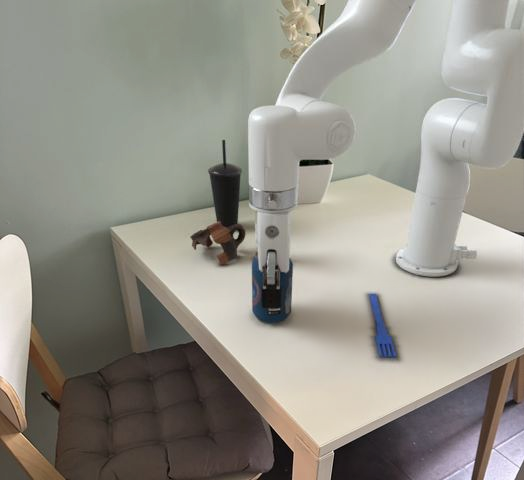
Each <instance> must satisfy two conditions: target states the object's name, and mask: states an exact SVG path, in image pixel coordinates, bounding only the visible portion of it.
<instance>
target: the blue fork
mask: <svg viewBox="0 0 524 480" xmlns="http://www.w3.org/2000/svg"><path fill="white" fill-rule="evenodd" d="M368 296H369V299H370V304H371V308H372V309H371V310H372V313H373V317H374V321H375V325H376V326H375V330H376V334H377V335H374V338H375V342H376V346H377V351H378V356H379V358H383V356H384V358H387V357H388V358H392V356H393V358H394V359H395V358H397V354H396V349H395V346H394V342H393V338H392V335H388V330H387V327H386V326H385V324H384V319H383V316H382V313H381V308H380V305H379V301H378V296H377V293H369V295H368ZM382 353H383V354H382ZM387 354H388V355H387Z"/></svg>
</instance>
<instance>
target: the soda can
mask: <svg viewBox="0 0 524 480" xmlns="http://www.w3.org/2000/svg"><path fill="white" fill-rule="evenodd" d="M266 269H267V266H266ZM275 269H278V266H275ZM293 273H294V263H293V261H292V259H291V258H290V260H289V271H288V272H287V273H285V272H281V270H280V286H281V307H280V308H279V309H275V308H262V286H263V272H261V271H260V270H259V261H258V251H257V252H256V251H255V254H254V258H253V260H252V262H251V311H252V314H253V315H254V316H255V318H256V320H257V321H259V322H261V323H262V324H266V325H278V324H281V323H283V322H285V321H286V320H287V318H288V317H289V316H290V314H291V313H292V300H293V299H292V297H293V277H294V275H293ZM266 278H267V274H266ZM275 278H276V279H277V273H275Z"/></svg>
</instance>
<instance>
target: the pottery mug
mask: <svg viewBox="0 0 524 480" xmlns="http://www.w3.org/2000/svg"><path fill="white" fill-rule="evenodd" d="M236 231H237V232H238V235H237V238H235V237H234V234H235V232H236ZM246 233H247V232H246V229H245V227H244V226H243V225H242V224H239V223H238V224H235V225H232V226H230V227H224V226H222V224H221V222H217V221H216V222H214V223H212V224H210V225H208V226H207V227H206V228H205V229H200V230H198V231H196V232H195V233H193V234H192V235H191V236H190V239H191V241H192V242H191V247H192V248H193V250H195V251H196V250H197V246H198V245H202V246H204V247H206V248H210V247H212V245H213V244H214V243H215V244H217V245H220V246H221V248H222V250H223V251H222V252H221V253H219V254H218V255H216V259H217V261H218V263H219V265H220V266H222V265H223V266H224V265H225V264H227V263H229V262H231V261H233V260H235V259H236V258H237V257H238V248H239V246H240V245H241V244H242V243H243V242H244V241H245V239H246ZM211 238H212V239H211Z"/></svg>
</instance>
